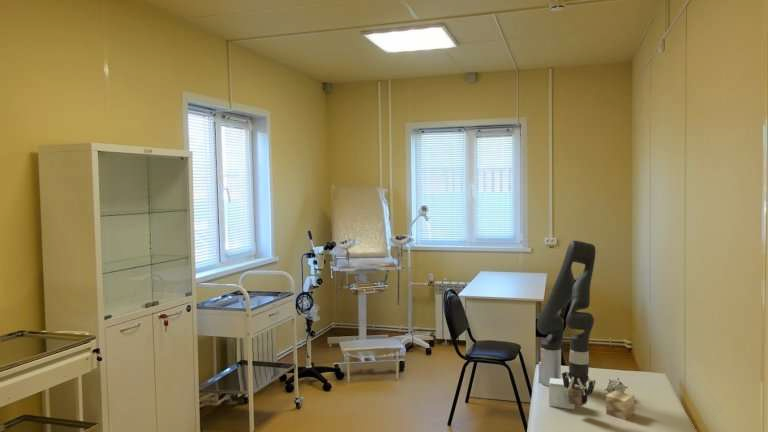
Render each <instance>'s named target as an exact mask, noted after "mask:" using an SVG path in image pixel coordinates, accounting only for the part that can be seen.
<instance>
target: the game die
mask: <svg viewBox="0 0 768 432" xmlns="http://www.w3.org/2000/svg"><path fill="white" fill-rule="evenodd" d="M608 381H609V382H608V385H607V387H606V388H605V389H604V391H607V392H608V394H610V393H612V392H613V391H619V392H622V393H625V391H626V389H628V387H629V386H625V385H624V384H623V382H622V381H620V378H619V377H617V379H613V380H612V379H608Z"/></svg>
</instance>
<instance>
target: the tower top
mask: <svg viewBox="0 0 768 432" xmlns="http://www.w3.org/2000/svg"><path fill="white" fill-rule="evenodd" d="M606 405H608V406H611V407H614V408H617V409H620V410H623V411H625V410H627V409H629V408H631V407H632V406H634V407H635V396H634V395H632V394H629V393H625V392H624V393H622V392H619V391H613V392H612V393H608V394H606V395H605V406H606Z"/></svg>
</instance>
